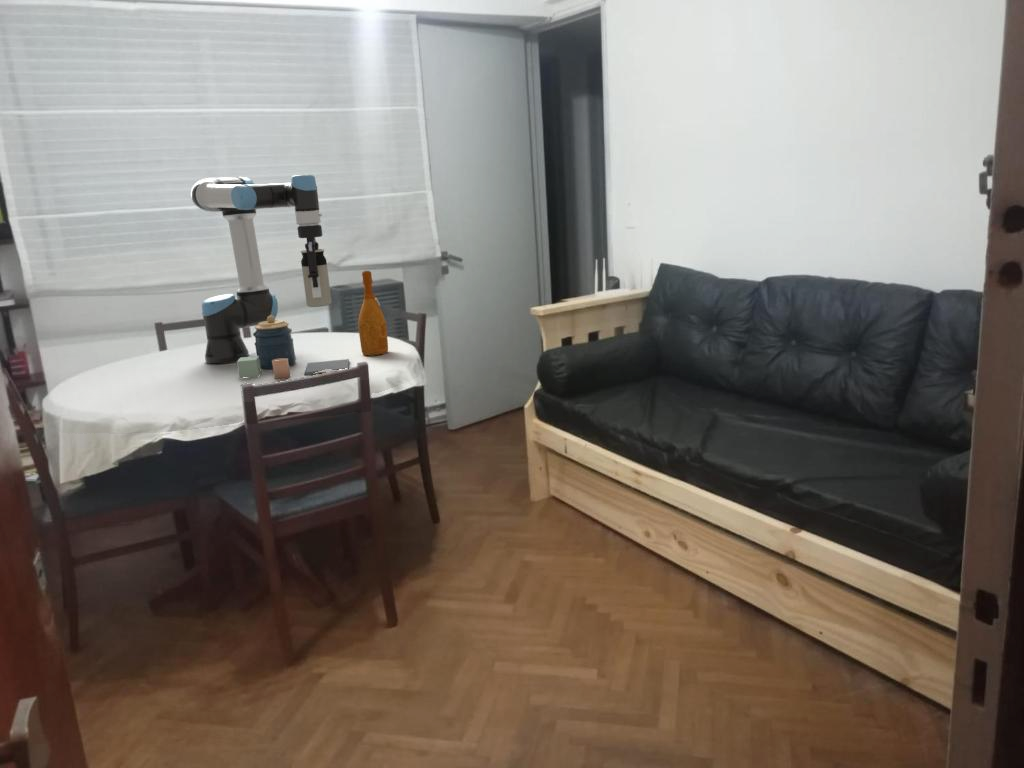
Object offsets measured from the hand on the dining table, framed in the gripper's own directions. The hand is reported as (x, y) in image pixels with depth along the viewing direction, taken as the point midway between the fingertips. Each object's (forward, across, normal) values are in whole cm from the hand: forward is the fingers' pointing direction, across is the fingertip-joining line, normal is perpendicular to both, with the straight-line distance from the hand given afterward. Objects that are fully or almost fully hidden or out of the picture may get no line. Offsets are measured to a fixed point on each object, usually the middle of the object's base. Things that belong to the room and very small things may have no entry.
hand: (318, 295), depth 238 cm
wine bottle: (+25, +17, -16) cm, 34 cm away
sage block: (+25, 0, +25) cm, 35 cm away
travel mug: (+3, 0, 0) cm, 3 cm away
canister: (+25, +13, +18) cm, 33 cm away
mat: (+25, 0, 0) cm, 25 cm away
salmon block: (+25, -7, +14) cm, 29 cm away
